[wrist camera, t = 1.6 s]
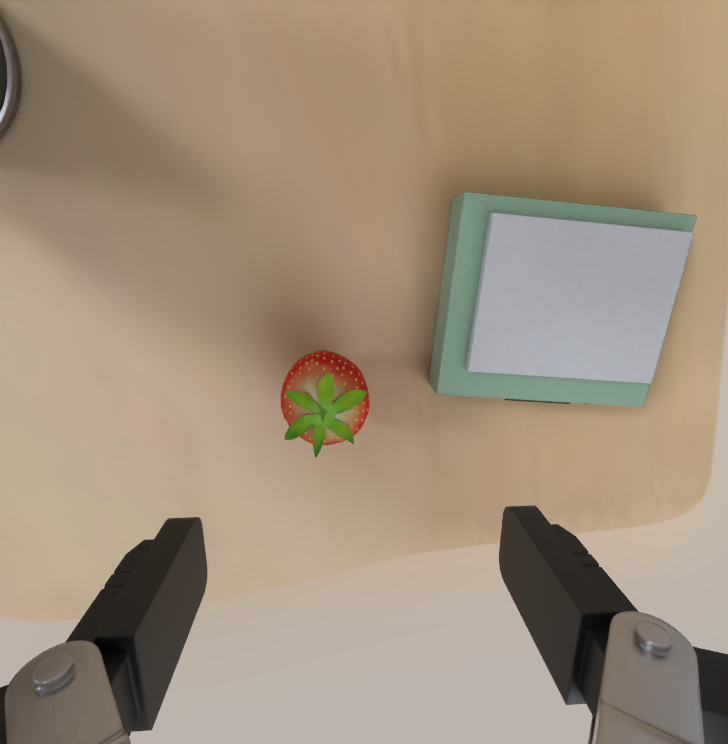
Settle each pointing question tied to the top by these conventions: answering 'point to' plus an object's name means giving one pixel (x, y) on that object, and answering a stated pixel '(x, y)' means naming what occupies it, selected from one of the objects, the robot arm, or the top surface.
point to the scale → (555, 299)
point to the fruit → (324, 399)
